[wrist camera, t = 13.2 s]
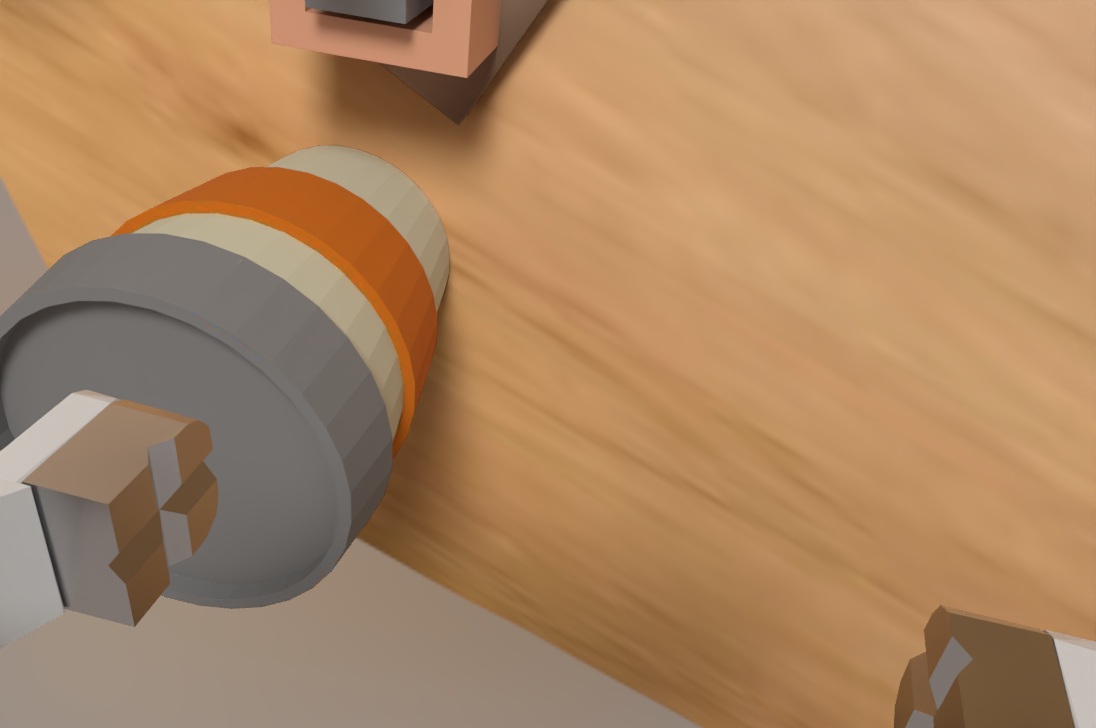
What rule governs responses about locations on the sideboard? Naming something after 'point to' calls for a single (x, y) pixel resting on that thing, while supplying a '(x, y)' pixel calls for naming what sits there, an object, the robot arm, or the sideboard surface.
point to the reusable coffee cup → (253, 351)
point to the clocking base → (441, 90)
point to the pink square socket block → (395, 34)
